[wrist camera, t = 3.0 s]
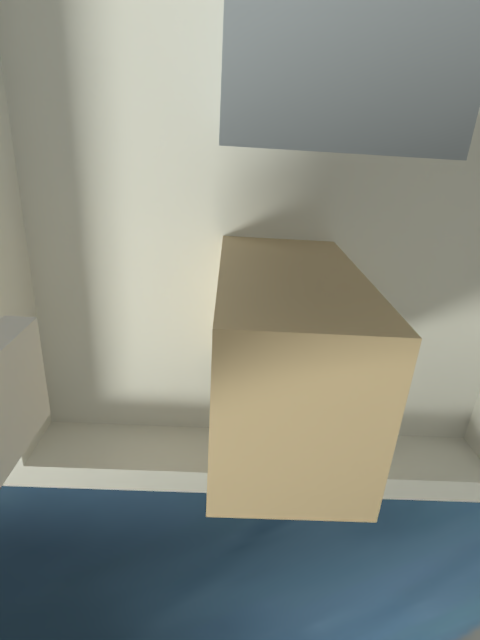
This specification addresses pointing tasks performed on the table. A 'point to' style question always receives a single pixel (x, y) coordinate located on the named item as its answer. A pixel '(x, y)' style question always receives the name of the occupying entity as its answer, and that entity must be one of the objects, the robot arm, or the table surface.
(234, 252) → the tall cardboard carton
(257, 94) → the pale grey box block
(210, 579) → the table surface
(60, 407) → the parts tray
